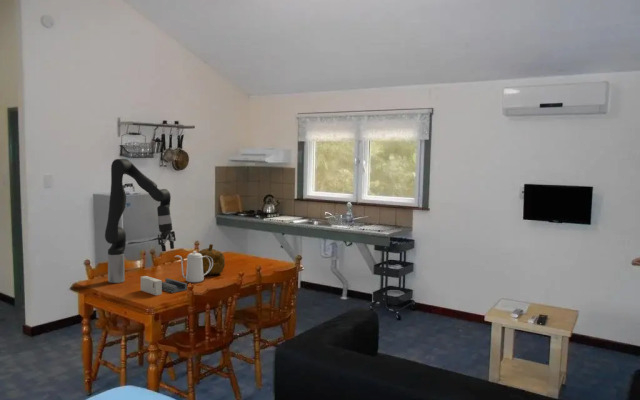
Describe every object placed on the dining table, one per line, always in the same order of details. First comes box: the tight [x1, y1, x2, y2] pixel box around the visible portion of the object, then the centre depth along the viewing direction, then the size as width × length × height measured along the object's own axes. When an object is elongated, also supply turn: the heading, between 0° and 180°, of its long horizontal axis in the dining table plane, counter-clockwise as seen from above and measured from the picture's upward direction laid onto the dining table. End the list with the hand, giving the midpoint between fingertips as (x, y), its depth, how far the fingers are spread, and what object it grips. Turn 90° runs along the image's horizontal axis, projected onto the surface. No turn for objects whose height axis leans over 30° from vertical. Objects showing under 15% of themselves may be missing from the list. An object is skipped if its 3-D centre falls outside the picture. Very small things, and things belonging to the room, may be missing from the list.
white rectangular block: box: [140, 275, 163, 296], centre depth 295 cm, size 16×4×8 cm, turn 50°
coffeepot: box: [174, 250, 213, 283], centre depth 323 cm, size 11×25×19 cm, turn 126°
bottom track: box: [162, 277, 189, 294], centre depth 305 cm, size 20×12×4 cm, turn 50°
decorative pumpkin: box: [197, 243, 226, 276], centre depth 344 cm, size 20×21×20 cm
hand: (168, 250), depth 307 cm, fingers open, 8 cm apart
